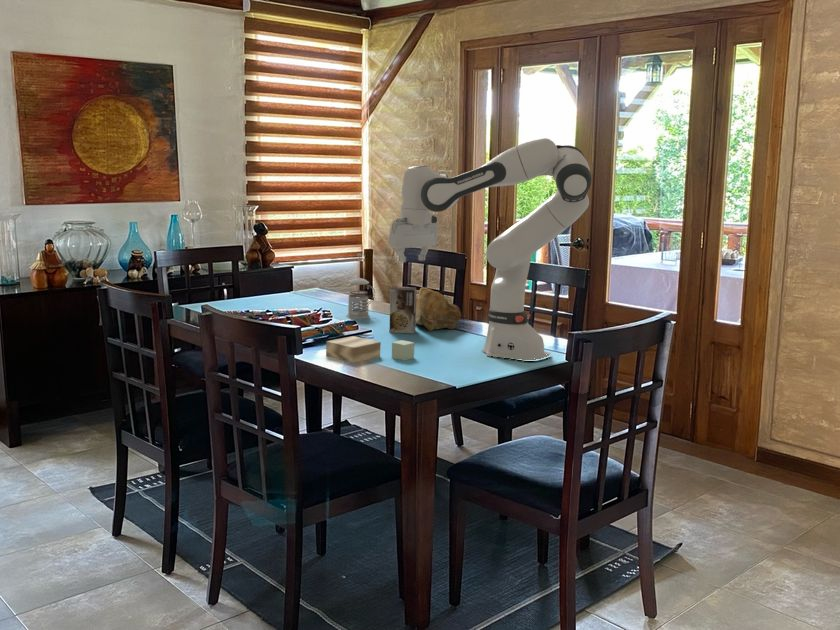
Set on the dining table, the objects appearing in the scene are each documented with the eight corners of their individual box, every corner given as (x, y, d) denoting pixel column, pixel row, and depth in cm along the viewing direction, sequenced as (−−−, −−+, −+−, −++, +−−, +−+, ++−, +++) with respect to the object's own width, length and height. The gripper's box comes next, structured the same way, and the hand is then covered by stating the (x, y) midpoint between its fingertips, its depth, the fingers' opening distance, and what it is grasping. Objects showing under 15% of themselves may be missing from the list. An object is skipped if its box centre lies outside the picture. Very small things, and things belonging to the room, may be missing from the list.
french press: (342, 314, 327) (343, 252, 323) (369, 313, 332) (370, 251, 327) (350, 319, 318) (352, 254, 314) (378, 317, 323) (380, 254, 319)
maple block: (380, 357, 260) (380, 342, 259) (353, 363, 251) (353, 347, 250) (352, 351, 267) (353, 336, 266) (326, 356, 258) (326, 341, 257)
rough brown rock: (464, 336, 299) (469, 295, 297) (419, 332, 296) (424, 291, 294) (452, 325, 322) (457, 288, 320) (410, 321, 319) (415, 283, 317)
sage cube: (413, 358, 260) (414, 342, 259) (403, 360, 256) (404, 345, 255) (401, 355, 263) (402, 340, 262) (391, 357, 259) (392, 342, 258)
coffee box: (415, 330, 302) (417, 287, 299) (413, 334, 296) (415, 289, 293) (391, 329, 303) (392, 285, 300) (388, 332, 296) (390, 288, 294)
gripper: (400, 219, 249) (398, 264, 251) (442, 217, 264) (439, 260, 267) (385, 217, 253) (382, 262, 255) (426, 216, 268) (424, 258, 271)
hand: (412, 261), depth 261 cm, fingers open, 8 cm apart
